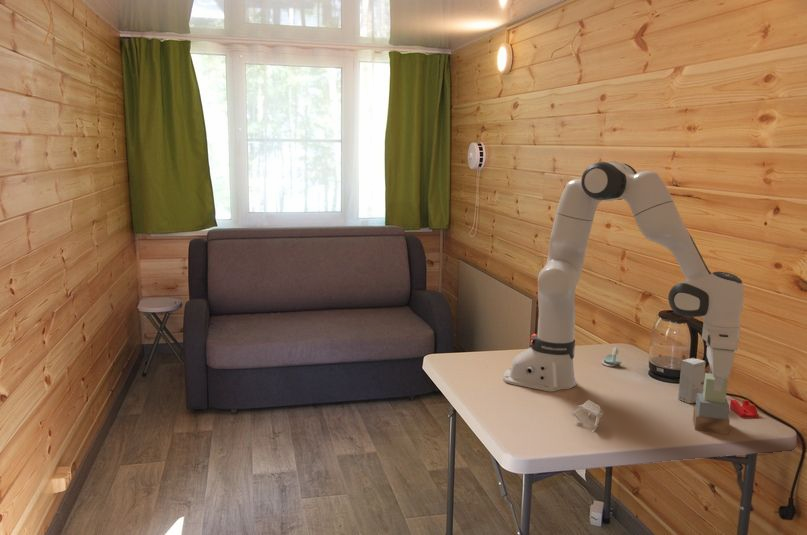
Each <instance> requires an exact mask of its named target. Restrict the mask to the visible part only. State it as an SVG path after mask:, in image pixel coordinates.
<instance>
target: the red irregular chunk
mask: <svg viewBox="0 0 807 535" xmlns="http://www.w3.org/2000/svg"><path fill="white" fill-rule="evenodd" d="M729 410H730V411H733V412H734V413H736V414H737V416H738V417H739V418H742V419H743V418H750V419H754V418H755V419H758V418H759V413H758V410H757V407H756V405H755V404H753V403H750V401H749V399H742V405H741V404H740V402H739V401H737V399H730V404H729Z"/></svg>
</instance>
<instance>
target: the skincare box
mask: <svg viewBox="0 0 807 535" xmlns="http://www.w3.org/2000/svg"><path fill="white" fill-rule="evenodd" d="M706 362H707V361H706V360H702V359H699V358H695V357H691V358H686V359H682V360H681V365H680V374H679V375H680V376H679V377H680V378H679V385H678V395H677V396H678V397H677V400H679V399H680V400H679V401H681V400H682V402H683V401H685V403H686V402H687V404H689V403H691V404H694V403H696V399H697V393H701V394H703V388H704V379H705V373H706Z"/></svg>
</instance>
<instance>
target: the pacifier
mask: <svg viewBox="0 0 807 535" xmlns="http://www.w3.org/2000/svg"><path fill="white" fill-rule="evenodd" d="M618 354H619V348H618V347H617V346H615V347H613V349H612V353H611V354H608V355H606V356H605V357H604V359H602V360H601V364H602V365H604V366H606V367H610V368H611V367H616V366H617V364H618V365H619V364H622V361H619V358H618V357H617V356H618Z"/></svg>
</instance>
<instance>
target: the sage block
mask: <svg viewBox="0 0 807 535" xmlns="http://www.w3.org/2000/svg"><path fill="white" fill-rule="evenodd" d="M713 384H714V377H713V374H710V372H708V373H707V372H705V374H704V385H703V397H704V400H706V401H713V402H721V403H725V399H727V388H728V379H724V380H723V383H722V387H721V391H715V390H714V389H713Z"/></svg>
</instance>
